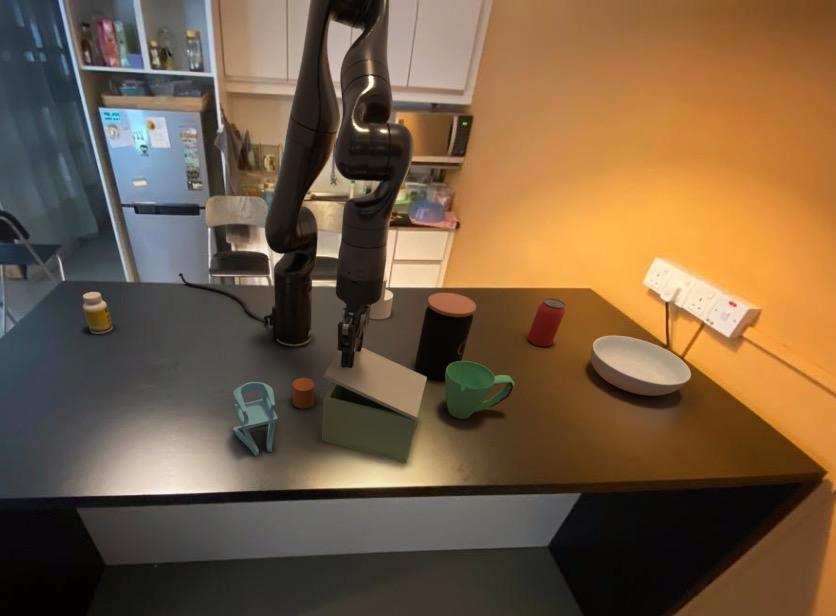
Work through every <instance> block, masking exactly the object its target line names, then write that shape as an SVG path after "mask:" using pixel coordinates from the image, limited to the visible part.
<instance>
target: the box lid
mask: <svg viewBox="0 0 836 616" xmlns="http://www.w3.org/2000/svg"><path fill="white" fill-rule="evenodd" d="M360 343H361V338H360V337H359V338H358V339H357V344H356V350H357V348H358V347H359V345H360ZM356 350H355V358H354V365H353V367H352V368H348V367H343V366H342V365H341V356H342V351H338V350H337V352H336V354H335V356H334V358H333V359H332V361H331V363H330V364H329V366H328V368H327V369H326V371H325V372H324V374H323V379H325V380H327V381H329V382H332V383H333V382H334V383H336V384H338V385H340V386H342V387H344V388H346V389H349V390H351V391H353V392H355V393H357V394H359V395H362V396H364V397H366V398H368V399H370V400H372V401H374V402H377V403H379V404H381V405H383V406H385V407H387V408H390V409H392V410H394V411H396V412H398V413H400V414H402V415H405V416H407V417H409V418H411V419H413V420H416V419H417V420H418V418H419V413H420V409H421V405H420V404H422V401H423V396H424V391H425V387H426V383H427V379H428V377H427V376H424V375H423V374H422V373H420V372H416V371H414V370H412V369H410V368H408V367H406V366H404V365H401V364H399V363H397V362H395V361H393V360H390V359H389V358H386V357H384V356H382V355H380V354H378V353H375V352H373V351H371V350H368V349H367V348H365V347H362V349H361V351H360V352H357V351H356ZM419 408H420V409H419ZM418 412H419V413H418ZM417 417H418V418H417Z"/></svg>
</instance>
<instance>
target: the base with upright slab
mask: <svg viewBox="0 0 836 616" xmlns="http://www.w3.org/2000/svg"><path fill="white" fill-rule="evenodd" d="M387 283H388V279H387V274H386V271H385V272H384V279H383V286H382V293H381V298H380V299H379V301H377V302H376V303H374V304H371V309H370V315H369V319H371V320H385V319H388V318H389V317H390V316H391V315H392V307H393V299H394V293H393V292H392V291H390V290H389V289H387Z"/></svg>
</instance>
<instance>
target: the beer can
mask: <svg viewBox="0 0 836 616" xmlns="http://www.w3.org/2000/svg"><path fill="white" fill-rule="evenodd" d="M565 313H566V303H565V302H564V301H562V300H561V299H558V298H553V297H547V298H544V299H543V300H542V301H541V303H540V304H539V306H538V307H537V310H536V313H535V315H534V318H533V321H532V324H531V326H530V329H529V332H528V335H527V340H528V341H529V342H530V343H531V344H533V345H534V346H536V347H537V346H538V347H542V348H543V347H545V348H546V347H550V346H552V344H553V343H554V340H555V337H556V335H557V332H558V331H559V328H560V326H561V323H562V321H563V318H564V316H565Z"/></svg>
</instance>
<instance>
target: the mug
mask: <svg viewBox="0 0 836 616" xmlns="http://www.w3.org/2000/svg"><path fill="white" fill-rule="evenodd" d="M444 382H445V384H444V385H445V387H444V389H445V390H444V393H445V401H446V406H447V412H448V413H449V414H450V415H451V416H452V417H454V418H455V419H459V420H460V419H461V420H463V419H465V420H466V419H468V418H470V416H471V415H472V414H474V413H477V412H480V411H483V410H487V409H491V408H493V407H496V406H497V405H498V404H500V403H501V402H503V401H505V400H506V399H507V398H509V397H510V395H511V393H512V391H513V389H514V387H515V381H514V380H513V379H512V377H511V376H510V375H508V374H500V375H495V374H494V373H493V372H492V371H491V369H490V368H488V367H486V366H484V365H482V364H480V363H477V362H475V361H474V362H473V361H471V360H469V361H468V360H461V361H457V362H453V363H451V364H450V365H448V366H447V369H446V372H445V380H444ZM503 384H505V386H504V388H502V389H501V390H500V391H499V392H497V393H495V394H494V395H493V396H491V397H490V398H488V399H486V398H487V396H488V395H489V393H490V392H491V390H492V389H493V387H494V386H497V385H503Z"/></svg>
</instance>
